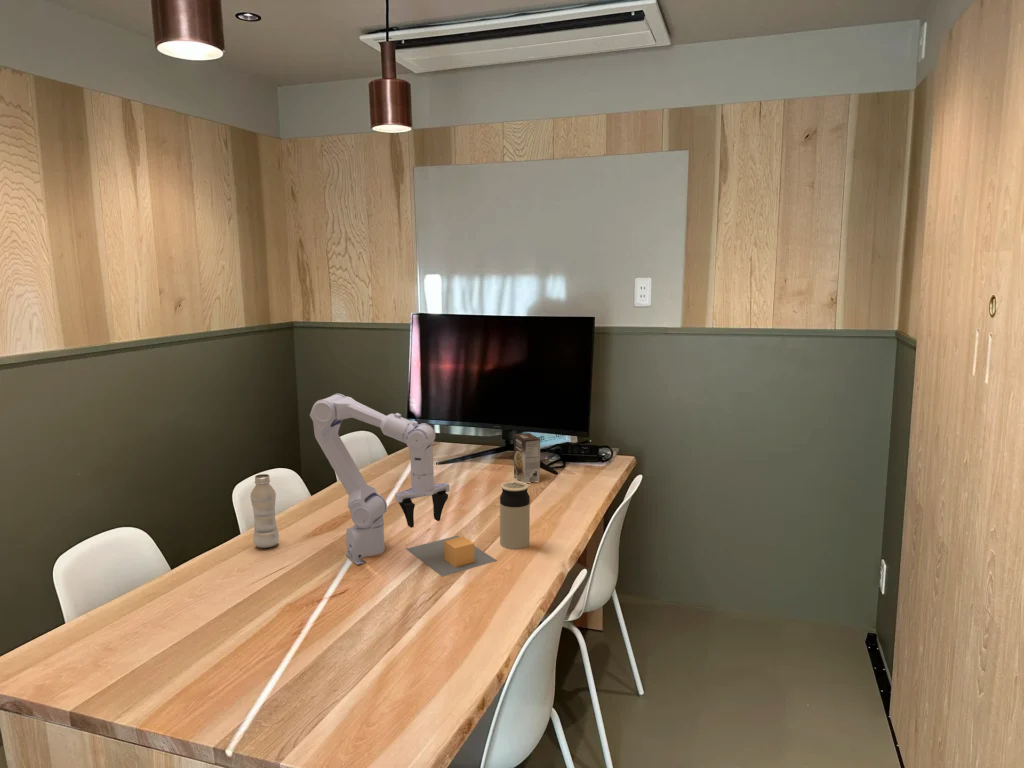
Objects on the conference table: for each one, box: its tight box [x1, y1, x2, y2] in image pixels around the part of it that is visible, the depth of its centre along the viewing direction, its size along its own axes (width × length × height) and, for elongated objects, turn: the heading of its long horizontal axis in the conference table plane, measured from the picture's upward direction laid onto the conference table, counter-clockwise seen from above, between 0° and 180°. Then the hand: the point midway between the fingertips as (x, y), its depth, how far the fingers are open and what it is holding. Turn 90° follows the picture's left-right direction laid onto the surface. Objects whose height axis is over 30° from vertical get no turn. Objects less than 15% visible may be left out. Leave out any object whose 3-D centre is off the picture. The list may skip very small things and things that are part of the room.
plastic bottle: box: [249, 473, 280, 549], centre depth 188 cm, size 6×7×20 cm
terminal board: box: [405, 535, 498, 577], centre depth 180 cm, size 16×20×5 cm
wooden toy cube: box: [444, 535, 475, 567], centre depth 177 cm, size 6×6×5 cm
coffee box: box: [513, 432, 541, 483], centre depth 246 cm, size 9×6×16 cm
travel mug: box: [499, 480, 531, 550], centre depth 187 cm, size 8×8×18 cm
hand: (424, 523), depth 178 cm, fingers open, 7 cm apart
